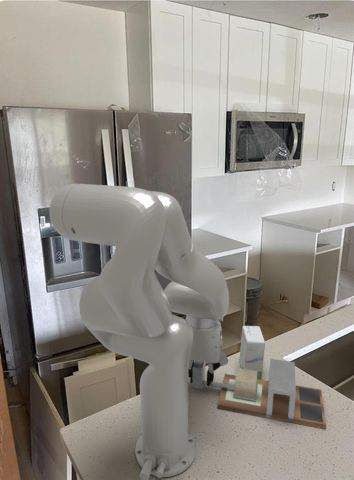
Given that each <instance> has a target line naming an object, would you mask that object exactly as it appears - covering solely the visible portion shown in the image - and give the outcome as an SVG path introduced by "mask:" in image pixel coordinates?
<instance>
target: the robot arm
mask: <svg viewBox="0 0 354 480" xmlns="http://www.w3.org/2000/svg"><path fill="white" fill-rule="evenodd" d="M49 219H50V222H51V225H52V227H53V228H54V230H55V231H56V232H57V233H58V234H59V235H60V236H61V237H63V238H65V239H67V240H70V241H74V242H81V243H82V242H83V243H89V244H96V245H102V246H111V247H115V249H114V253H113V255H112V257H111V258H110V259H109V260H108V261H107V262H106V264H105V265H104V267H103V268H102V270H101V272H100V274H99V276H97V277H94V278H92V279H91V280H90V281H88V283H87V284H86V285H85V286H84V287H83V289H82V290H81V291H82V292H81V294H80V297H79V303H78V304H79V306H78V307H79V315H80V319H81V320H82V321H81V322H82V323H83V325H84V326H85V327H86V328H87V329H88V330H89V332H90V333H91V334H92V335H93V336H94V338H96V339H97V340H98V341H99V342H100V343H101V344H102V345H103V346H104V347H105V348H106V349H107V350H108V351H110V352H112V353H114V354H117V355H120V356H124V357H128V358H132V359H135V360H138V361H141V362H145V363H147V364H149V365H148V366H147V367H146V368H145V369H144V371H143V372H142V374H141V376H140V380H139V395H140V397H139V398H140V399H139V400H140V416H141V417H140V419H141V434H140V435H139V437H138V439H137V440H136V443H135V450H134V452H135V459H136V462H137V463H138V465H139V467H140V468H141V471H140V473H139V475H138V476H139V479H140V480H149V479H150V476H151V475H152V476H154V477H157V478H158V479H161V478H169V477H170V478H171V477H174V476H177V475H179V474H181V473H183V472H184V471H186V470H187V469H188V468H189V467H190V466H191V465H192V463H193V462H194V460H195V456H196V442H195V440H194V438H193V436H192V434H191V433H190V432H189V382H190V384H193V365H194V362H195V360H196V361H202V362H206V363H207V367H208V369H207V371H206V381H207V386H206V387H210V383H211V382H214V379H215V374H214V373H215V371H216V370H218V369H220V367H223V366H226V365H228V364H229V359H228V357H227V355H226V353H225V352H224V350H223V346H224V345H223V331H222V330H223V329H222V323H221V322H224V317H225V316H226V314H227V313H228V310H229V308H230V307H229V306H230V305H229V304H230V293H229V288H228V283H227V280H226V277H225V274H224V273H223V271H222V270H221V268H219V267H218V266H217V264H215V263H214V262H212V261H211V260H210V259H209V258H208V257H206V256H205V255H204V254H203V253H201V252H200V251H199V250H197V249H196V248H195V247H194V243H193V240H192V238H191V235H190V231H189V228H188V225H187V222H186V219H185V216H184V213H183V210H182V207H181V205H180V203H179V201H178V200H177V199H176V198H175V197H174V196H173V195H170V194H169V193H167V192H162V191H161V192H160V191H153V190H148V189H147V190H146V189H144V188H140V187H139V188H138V187H134V186H123V185H122V186H121V185H108V184H107V185H105V184H104V185H103V184H91V183H89V184H88V183H70V184H67V185H65V186H62V187H61V188H60V189H59V190H57V192H56V193H55V194H54V195H53V197H52V199H51V202H50V205H49ZM155 271H156V273H158V274H159V275H161V276H162V277H164V278H165V279H167V280H169V281H171V282H169V283H168V284H167V285H166V287H165V288H164V289H163V287H162V285H161V284H160V282H159V280H158V277H157V275H156V273H155ZM173 313H177V314H181V315H186V318H185V319H184V318H183V317H180V316H178V315H175V314H173Z"/></svg>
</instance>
